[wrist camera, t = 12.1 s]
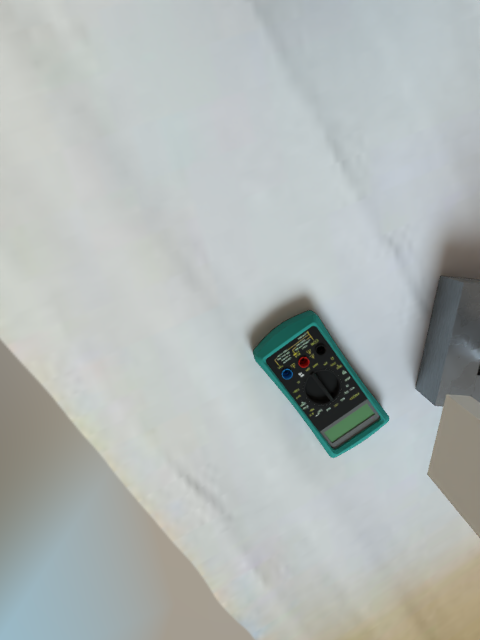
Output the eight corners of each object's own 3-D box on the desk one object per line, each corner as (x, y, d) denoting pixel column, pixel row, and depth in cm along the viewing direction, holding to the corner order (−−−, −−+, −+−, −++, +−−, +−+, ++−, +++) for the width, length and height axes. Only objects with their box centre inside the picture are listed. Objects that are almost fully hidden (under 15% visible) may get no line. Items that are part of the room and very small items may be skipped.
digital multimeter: (307, 302, 42) (314, 309, 39) (383, 410, 45) (395, 424, 43) (247, 345, 43) (249, 355, 40) (327, 448, 46) (334, 464, 43)
